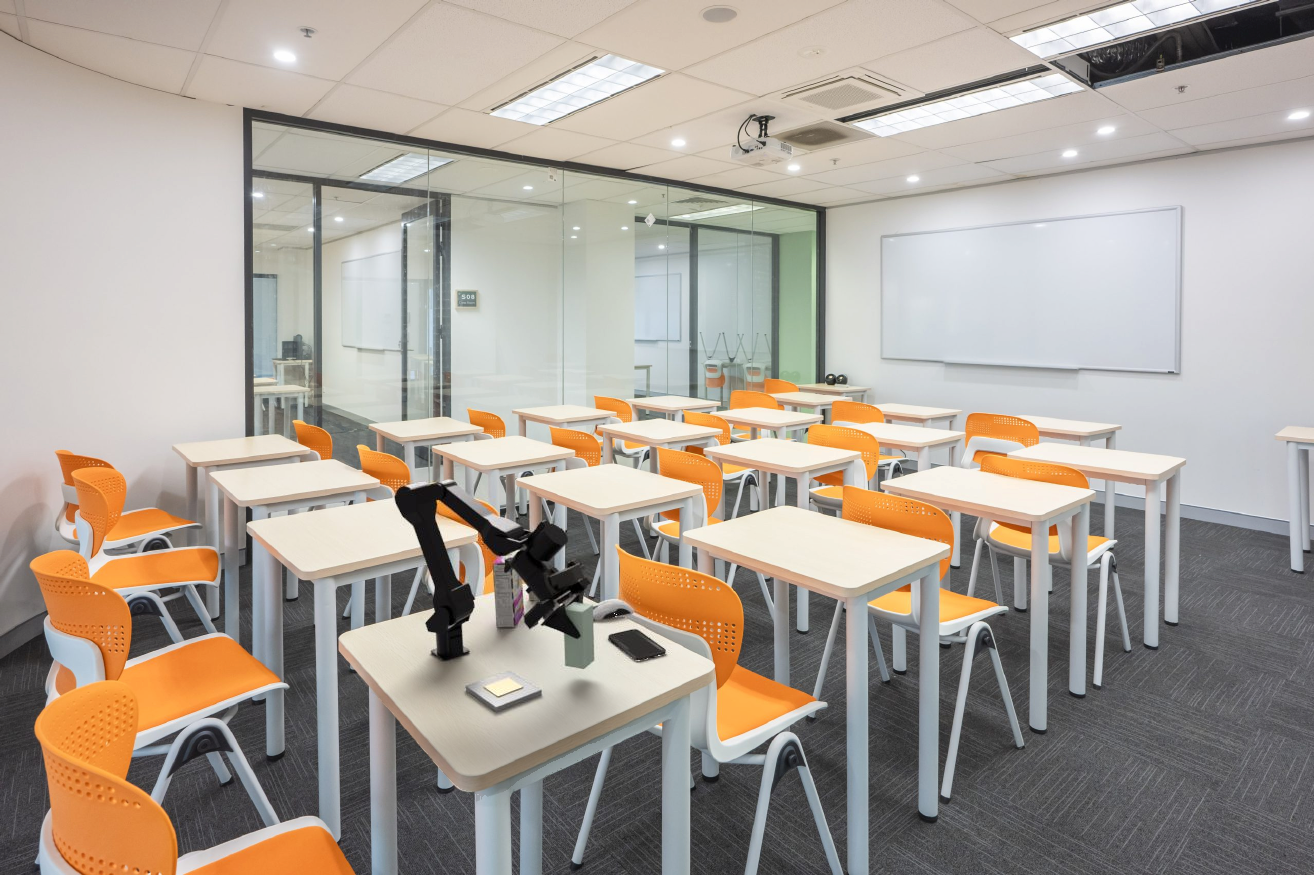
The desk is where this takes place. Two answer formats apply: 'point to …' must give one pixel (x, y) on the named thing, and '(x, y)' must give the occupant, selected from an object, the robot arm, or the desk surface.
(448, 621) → the robot arm
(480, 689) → the pad
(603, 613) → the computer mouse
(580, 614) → the sage block
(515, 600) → the candy bar box
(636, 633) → the phone
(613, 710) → the desk surface
